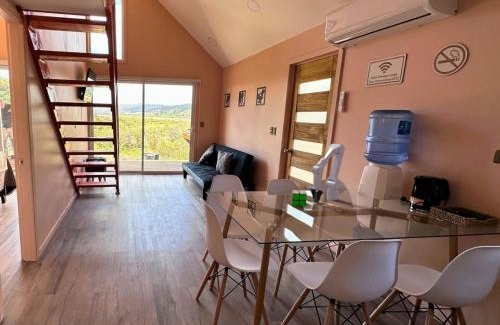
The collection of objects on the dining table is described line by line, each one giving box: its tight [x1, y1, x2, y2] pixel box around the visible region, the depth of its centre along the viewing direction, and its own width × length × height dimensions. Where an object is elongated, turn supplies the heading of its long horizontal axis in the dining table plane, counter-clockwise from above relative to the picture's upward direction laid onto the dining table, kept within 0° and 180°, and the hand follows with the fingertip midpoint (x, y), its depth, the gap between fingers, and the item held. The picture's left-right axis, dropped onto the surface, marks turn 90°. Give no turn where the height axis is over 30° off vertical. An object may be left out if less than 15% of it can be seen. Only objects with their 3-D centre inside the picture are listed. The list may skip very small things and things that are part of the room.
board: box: [309, 200, 348, 212], centre depth 216 cm, size 10×25×1 cm, turn 43°
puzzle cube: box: [291, 189, 307, 208], centre depth 218 cm, size 10×10×10 cm
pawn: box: [312, 191, 320, 204], centre depth 223 cm, size 4×4×8 cm
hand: (316, 199), depth 223 cm, fingers open, 3 cm apart
